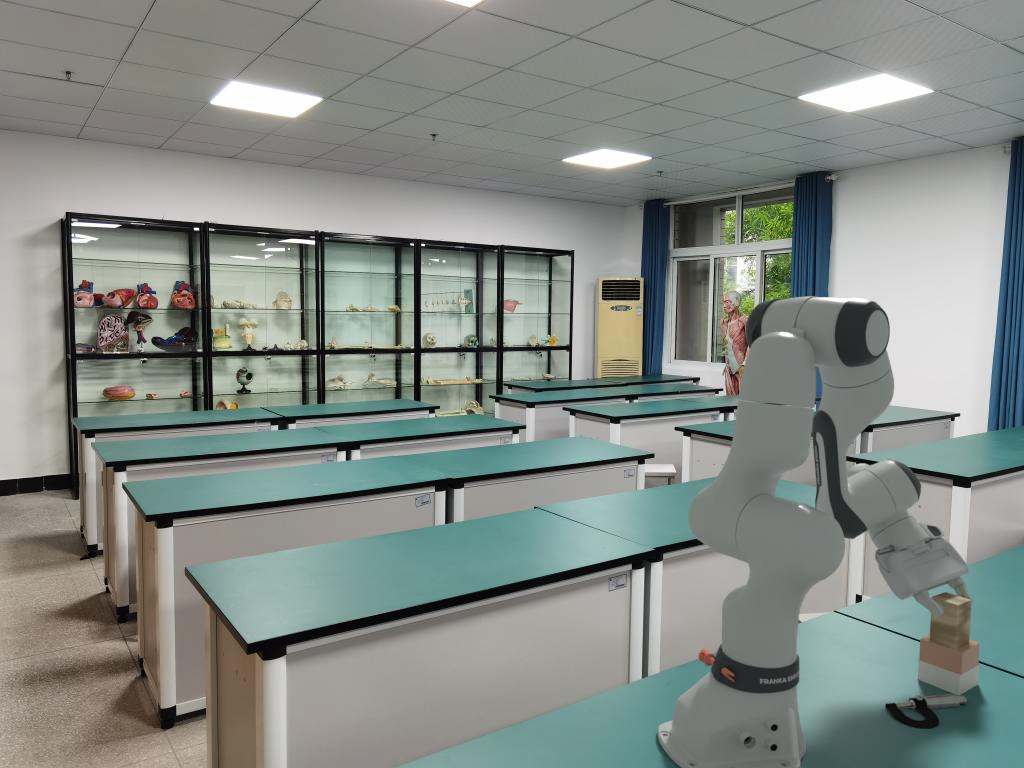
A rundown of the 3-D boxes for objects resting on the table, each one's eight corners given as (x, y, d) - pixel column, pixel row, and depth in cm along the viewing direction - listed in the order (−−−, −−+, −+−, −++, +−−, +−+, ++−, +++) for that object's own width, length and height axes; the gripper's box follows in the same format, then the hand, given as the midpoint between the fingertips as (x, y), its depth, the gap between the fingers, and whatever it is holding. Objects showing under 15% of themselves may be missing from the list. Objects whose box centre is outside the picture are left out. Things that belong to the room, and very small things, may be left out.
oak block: (955, 649, 126) (957, 605, 125) (929, 639, 130) (931, 596, 129) (969, 643, 128) (971, 600, 127) (943, 634, 132) (945, 592, 131)
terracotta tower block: (961, 675, 125) (962, 653, 124) (919, 660, 130) (920, 638, 130) (978, 664, 129) (979, 642, 128) (937, 649, 134) (937, 629, 134)
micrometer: (909, 733, 114) (910, 718, 114) (880, 710, 121) (880, 695, 121) (992, 724, 117) (993, 709, 116) (958, 702, 124) (959, 688, 123)
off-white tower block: (958, 697, 125) (959, 675, 125) (917, 680, 131) (918, 659, 130) (977, 686, 129) (978, 664, 128) (937, 670, 135) (938, 650, 134)
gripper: (883, 542, 128) (937, 614, 120) (944, 525, 139) (997, 590, 131) (858, 560, 132) (909, 630, 124) (919, 542, 143) (970, 605, 135)
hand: (955, 609), depth 128 cm, fingers open, 8 cm apart
